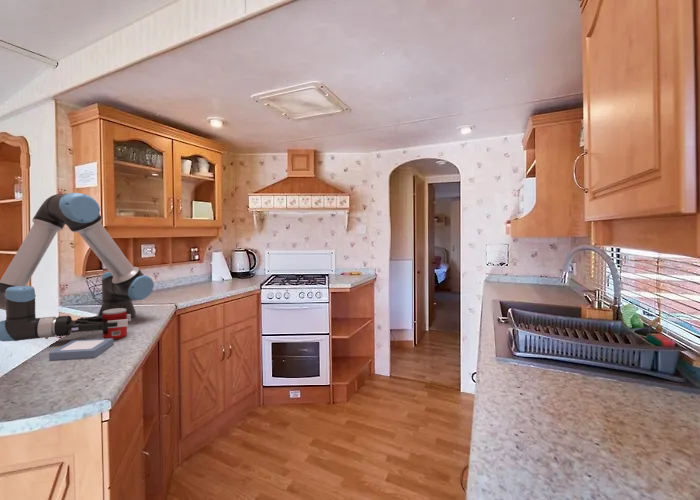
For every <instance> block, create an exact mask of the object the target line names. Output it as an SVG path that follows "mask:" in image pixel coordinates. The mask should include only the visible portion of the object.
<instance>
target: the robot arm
mask: <svg viewBox="0 0 700 500" xmlns="http://www.w3.org/2000/svg"><path fill="white" fill-rule="evenodd" d="M100 212H101V207H100V205H99V203H98V201H96V199H95V198H93V197H92V196H90V195H87V194H85V193H80V192H70V193H57V194H54V195H50V196H49V197H48V198H46V199H45V200H44V201H43V202H42V204H41V205H40V207H39V208H38V210H37V211H36V213H35V215H34V216H33V217H32V219H31V220H32V222H33V224H32V226H31V228H30V229H29V231H28V233H27V235H26V237H25V238H24V240H23V241H22V243H21V244H20V247H19V248H18V250H17V251H16V254H15V255H14V256H13V258H12V260H11V262H10V263H9V265H8V266H7V268H6V270H5V272H4V273H3V275H2V276H1V279H0V310H4V311H5V314H6V316H5V320H2V321H0V342H19V341H25V340H27V341H28V340H34V339H35V340H36V339H45V340H49V338H54V337H67V336H69V335H71V333H73V334H75V333H80V332H81V333H83V332H95V331H103V330H104V331H106V330H107V327H108V328H115V327H125V326H127V327H129V322H131V320H132V318H135V317H136V316H137V313H136V312H137V311H136V308H135V306H134V304H133V301H141V300H145V299H147V298H148V297H150V296H151V294H152V292H153V289H154V287H155V285H154V284H155V283H154V280H153V279H152V277H150V276H149V275H145V274H144V273H142V271H141V270H140V268H139V267H137V266H133V265H132V263H131V261H129V259H128V257H126V256H125V254H124V253H123V251H122V250H121V248H120V247H119V245H117V243H116V242H115V240H114V239H113V238H112V236H111V235H110V233H109V232H108V231H107V229H106V228H105V227H104V225H103V224H102V221H103V217H102V215H101V214H100ZM65 225H66V226H67V228H69V231H71V232H72V233H77V234H79V235H80V237H81V238H82V239H83V240H84V241H85V243H86V245H87V246H88V247H89V248H90V249H91V250H92V252H93V253H94V254H95V256H96V257H97V258H98V259H99V261H100V262H101V263H102V264H103V266H104V267H105V269H106V270H107V272H106V271H105V272H104V273H102V275H101V292H102V293H101V296H102V299H101V300H102V304H101V306H100V310H99V312H98V313H97V315H95V316H82V317H80V318H77V319H74V320H73V319H72V316H70V315H61V316H60V315H59V316H44V317H37V316H36V291H35V287H34V286H31V285H28V283H29V282H30V280H31V278H32V277H33V274H34V273H35V271H36V269H37V268H38V266H39V264H40V263H41V261H42V259H43V257H44V256H45V253H46V252H47V250H48V249H49V247H50V245H51V243H52V241H53V240H54V238H55V237H56V235H57V233H58V232H61V231H62V230H63V228H64V227H65ZM116 308H124V309H126V310H127V319H124V320H112V321H107V322H108V323H107V322H103V320H102V313H103V311H105V310H109V309H116Z"/></svg>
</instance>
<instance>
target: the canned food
mask: <svg viewBox="0 0 700 500" xmlns="http://www.w3.org/2000/svg"><path fill="white" fill-rule="evenodd" d="M124 319H127V310H126V309H124V308H116V309H109V310H105V311H103V313H102V320H103V322H107V321H112V320H124ZM107 323H108V322H107ZM127 334H128V326H125V327H115V328H108V327H107V330H106V331H104V330H102V339H109V338H113V341H115V340H120V339H123V338H125V337H127Z"/></svg>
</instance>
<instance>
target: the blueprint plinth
mask: <svg viewBox="0 0 700 500" xmlns="http://www.w3.org/2000/svg"><path fill="white" fill-rule="evenodd" d="M112 346H114V340H113V338H109V339H104V338H92V339H88V338H87V339H73V340H71V341H69V342H67V343H66V344H63V345H61V346H59V347H58V348H56V349H55V350H52V351H50V352H49V353H48V355H49V356H48V358H49V361H63V360H79V359H80V360H81V359H94V358H95V359H96V358H97V357H98V356H100V355H102V354H103V353H105V351H107V350H108V349H109V348H111V347H112Z"/></svg>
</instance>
